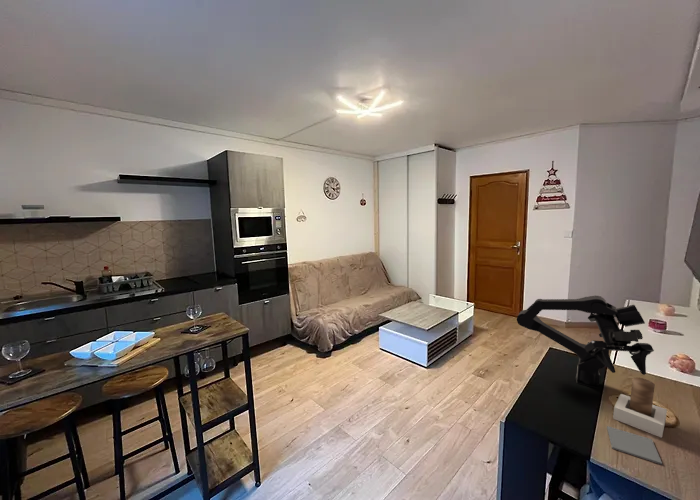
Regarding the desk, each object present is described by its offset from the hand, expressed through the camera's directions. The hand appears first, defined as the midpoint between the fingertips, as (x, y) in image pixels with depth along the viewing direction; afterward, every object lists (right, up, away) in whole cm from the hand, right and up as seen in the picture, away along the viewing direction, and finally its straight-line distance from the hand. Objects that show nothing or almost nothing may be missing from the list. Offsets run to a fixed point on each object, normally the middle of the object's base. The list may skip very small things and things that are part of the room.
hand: (629, 373), depth 101 cm
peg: (-1, -13, -5) cm, 14 cm away
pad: (-13, -14, -15) cm, 24 cm away
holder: (-1, -13, -5) cm, 14 cm away
